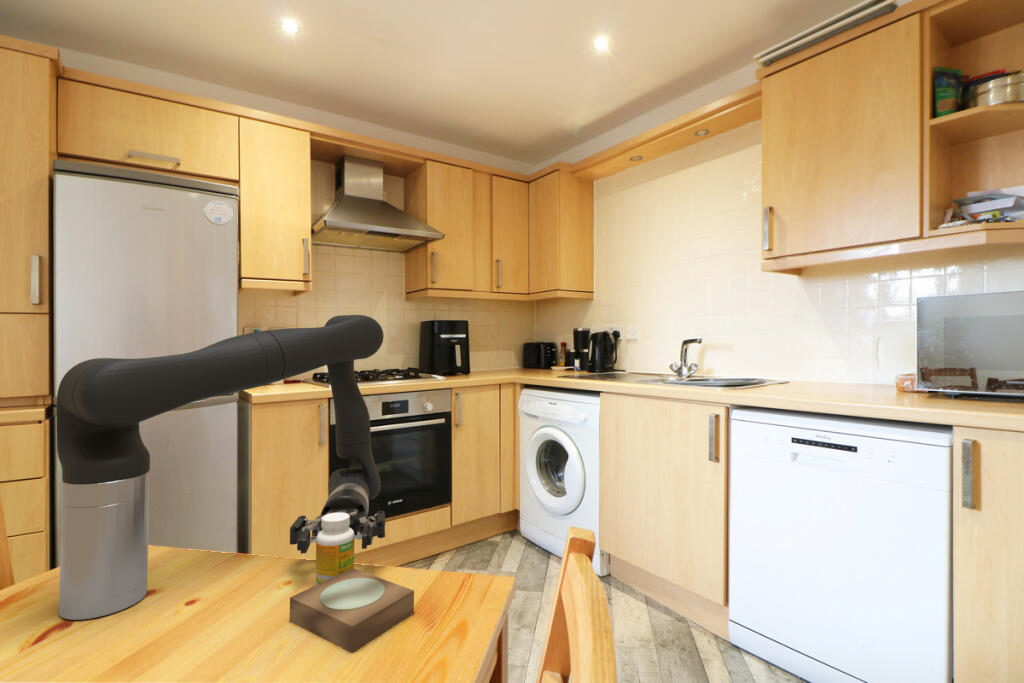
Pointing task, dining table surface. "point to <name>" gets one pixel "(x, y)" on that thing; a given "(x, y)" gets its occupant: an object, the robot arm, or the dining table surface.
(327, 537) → the supplement bottle
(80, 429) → the robot arm
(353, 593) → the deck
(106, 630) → the dining table surface
